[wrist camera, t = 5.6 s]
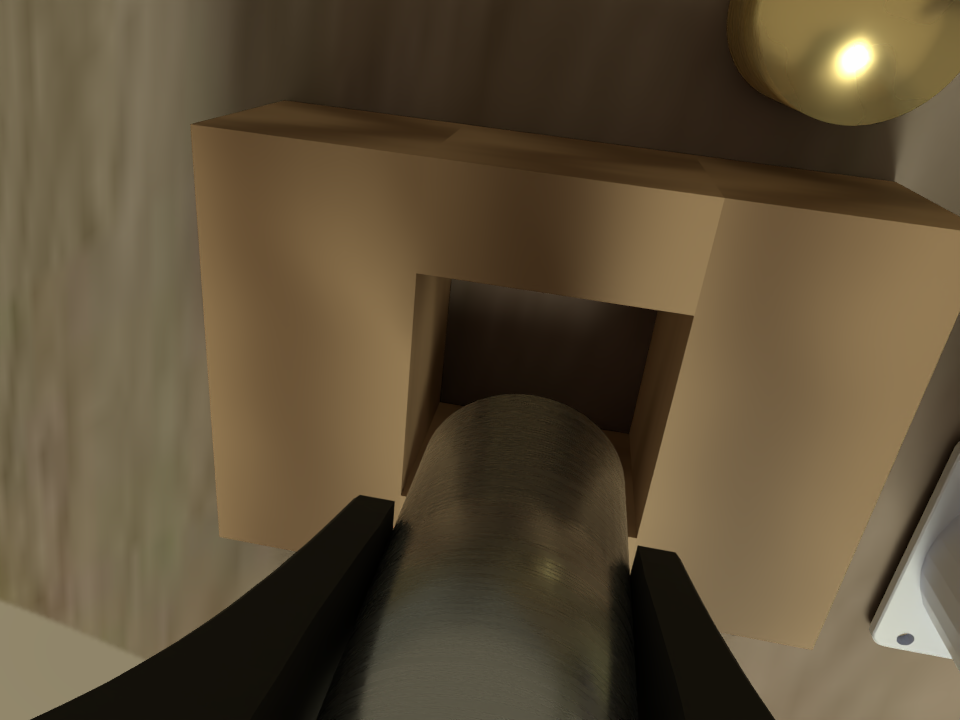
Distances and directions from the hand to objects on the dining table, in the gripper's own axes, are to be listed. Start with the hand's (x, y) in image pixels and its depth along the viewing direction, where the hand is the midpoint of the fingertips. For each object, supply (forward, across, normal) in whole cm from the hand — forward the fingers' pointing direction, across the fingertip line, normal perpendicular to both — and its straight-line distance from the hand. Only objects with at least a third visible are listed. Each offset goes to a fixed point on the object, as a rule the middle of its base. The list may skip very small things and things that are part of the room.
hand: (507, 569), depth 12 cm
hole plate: (+10, 0, 0) cm, 10 cm away
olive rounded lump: (+10, -5, -9) cm, 15 cm away
